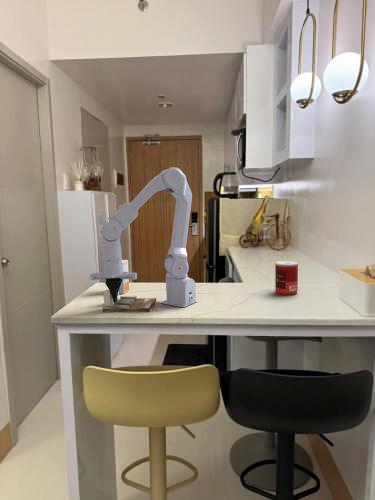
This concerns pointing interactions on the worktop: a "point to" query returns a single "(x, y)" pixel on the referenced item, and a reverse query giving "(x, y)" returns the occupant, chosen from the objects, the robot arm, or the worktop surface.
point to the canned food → (286, 277)
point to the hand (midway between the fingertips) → (115, 301)
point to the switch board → (131, 304)
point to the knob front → (108, 298)
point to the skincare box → (125, 282)
